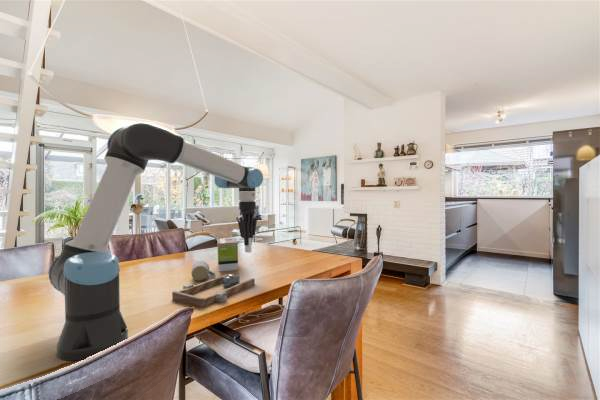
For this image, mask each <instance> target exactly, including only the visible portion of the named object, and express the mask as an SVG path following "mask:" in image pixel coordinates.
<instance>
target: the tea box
mask: <svg viewBox="0 0 600 400" xmlns="http://www.w3.org/2000/svg"><path fill="white" fill-rule="evenodd" d="M216 240H217V242H216V244H217V245H216V247H217V266H218V267H217V268H218V272H230V271H238V270H239V254H238V253H239V251H238V250H239V249H238V246H239V245H238V244H239V243H238V241H237V239H236V238H235V237H225V238H224V237H223V238H217V239H216Z"/></svg>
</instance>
